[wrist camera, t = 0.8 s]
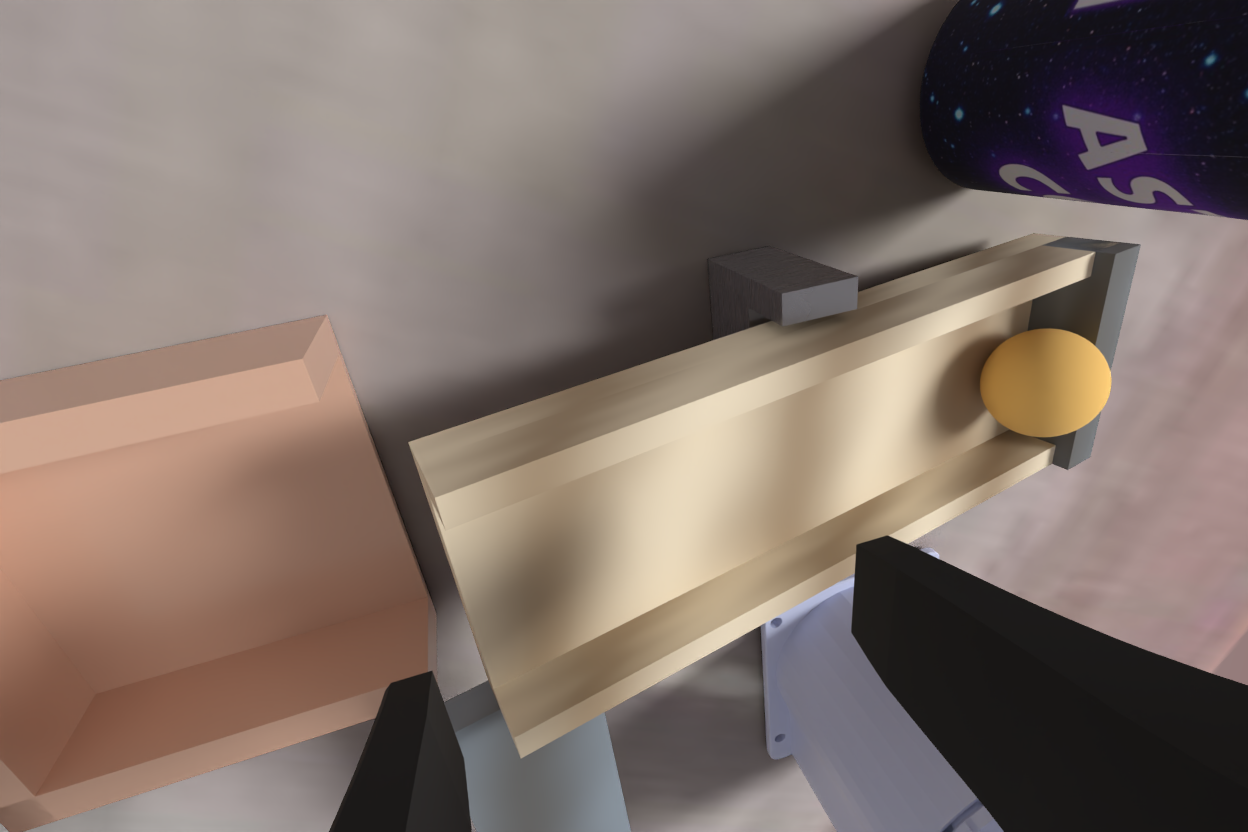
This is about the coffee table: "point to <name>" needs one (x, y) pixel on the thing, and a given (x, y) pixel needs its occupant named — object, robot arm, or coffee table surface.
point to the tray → (192, 567)
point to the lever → (724, 500)
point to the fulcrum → (774, 290)
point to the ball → (1045, 382)
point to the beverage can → (1094, 101)
